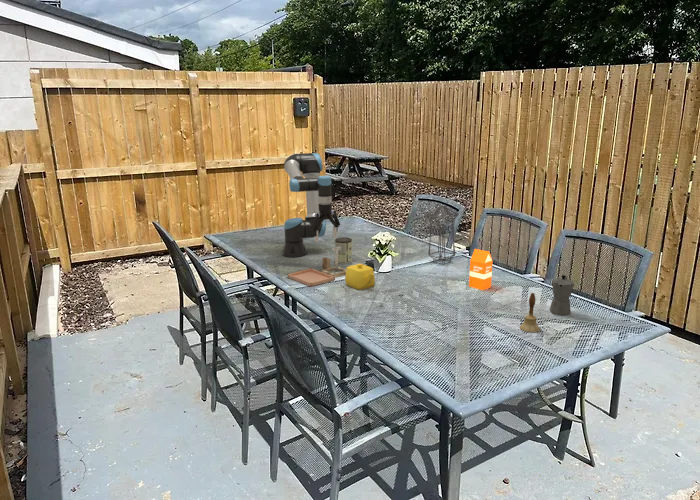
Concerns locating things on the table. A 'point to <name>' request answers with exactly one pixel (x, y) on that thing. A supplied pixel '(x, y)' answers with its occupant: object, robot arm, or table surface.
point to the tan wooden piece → (327, 268)
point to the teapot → (359, 276)
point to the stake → (336, 259)
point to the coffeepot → (561, 296)
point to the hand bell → (530, 318)
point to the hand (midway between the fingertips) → (325, 239)
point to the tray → (311, 277)
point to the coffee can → (344, 250)
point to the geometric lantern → (442, 231)
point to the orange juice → (480, 270)
